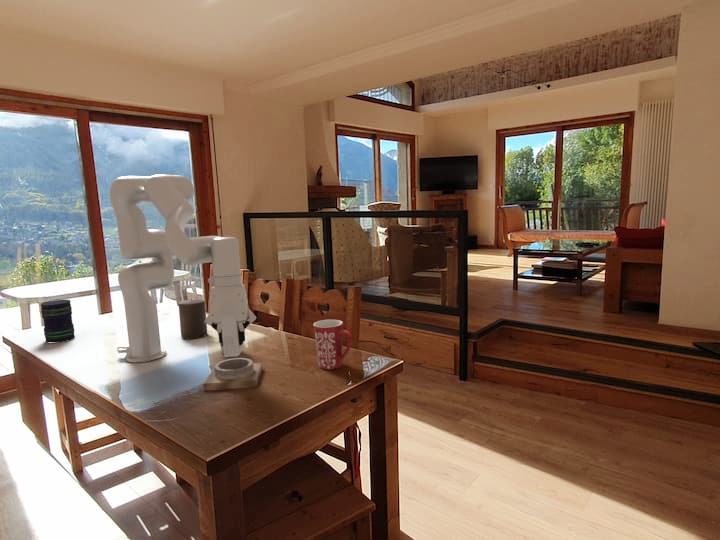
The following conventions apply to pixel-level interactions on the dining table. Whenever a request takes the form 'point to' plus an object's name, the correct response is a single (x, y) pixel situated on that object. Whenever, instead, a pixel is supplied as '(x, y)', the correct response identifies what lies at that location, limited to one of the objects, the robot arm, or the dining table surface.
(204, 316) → the pillar candle
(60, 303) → the storage jar
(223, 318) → the skincare box
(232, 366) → the ring stand
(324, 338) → the mug
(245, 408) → the dining table surface
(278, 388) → the dining table surface
